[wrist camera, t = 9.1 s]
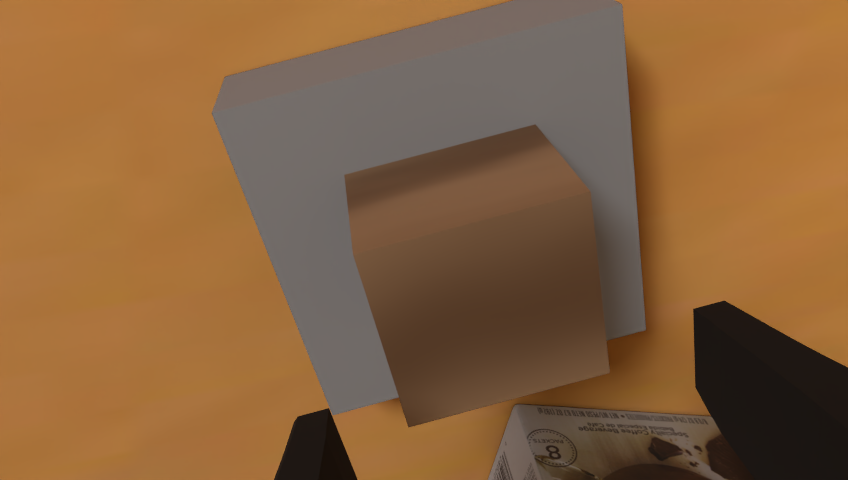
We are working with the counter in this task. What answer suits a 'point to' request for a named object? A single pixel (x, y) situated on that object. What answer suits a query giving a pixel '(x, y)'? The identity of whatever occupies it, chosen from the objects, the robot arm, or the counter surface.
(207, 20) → the counter surface
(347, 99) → the slate base block
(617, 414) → the coffee box
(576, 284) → the walnut block
